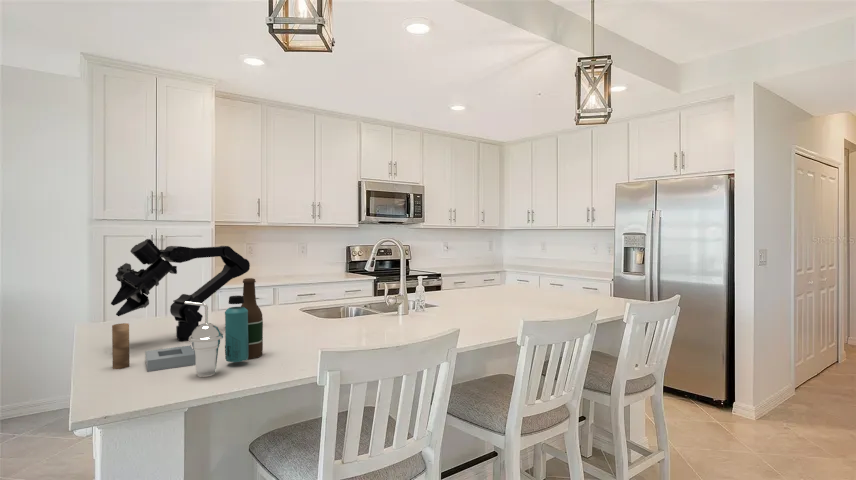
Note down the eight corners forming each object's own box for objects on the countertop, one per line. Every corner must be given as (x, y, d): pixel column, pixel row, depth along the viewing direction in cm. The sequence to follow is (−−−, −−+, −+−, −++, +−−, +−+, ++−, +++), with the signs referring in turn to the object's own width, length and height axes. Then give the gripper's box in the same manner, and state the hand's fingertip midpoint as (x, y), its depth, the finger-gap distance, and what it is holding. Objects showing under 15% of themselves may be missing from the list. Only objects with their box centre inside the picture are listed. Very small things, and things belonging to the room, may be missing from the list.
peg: (129, 364, 134) (128, 322, 133) (129, 367, 130) (129, 325, 130) (112, 366, 131) (112, 324, 131) (112, 369, 128) (112, 326, 128)
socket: (190, 354, 143) (190, 345, 143) (195, 364, 133) (195, 354, 133) (145, 360, 137) (145, 350, 137) (147, 371, 127) (147, 360, 127)
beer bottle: (268, 354, 144) (268, 278, 144) (249, 360, 137) (248, 280, 137) (249, 351, 148) (249, 276, 147) (230, 357, 141) (229, 279, 140)
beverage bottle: (253, 362, 136) (253, 294, 135) (237, 368, 130) (237, 297, 129) (236, 360, 138) (235, 293, 138) (219, 366, 132) (218, 296, 131)
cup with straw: (210, 380, 120) (210, 303, 119) (179, 378, 121) (178, 302, 121) (230, 370, 128) (229, 298, 128) (200, 368, 130) (200, 297, 129)
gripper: (136, 273, 161) (98, 307, 152) (128, 247, 146) (85, 283, 137) (163, 290, 162) (127, 325, 152) (158, 267, 147) (118, 304, 137)
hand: (114, 310), depth 145 cm, fingers open, 9 cm apart
